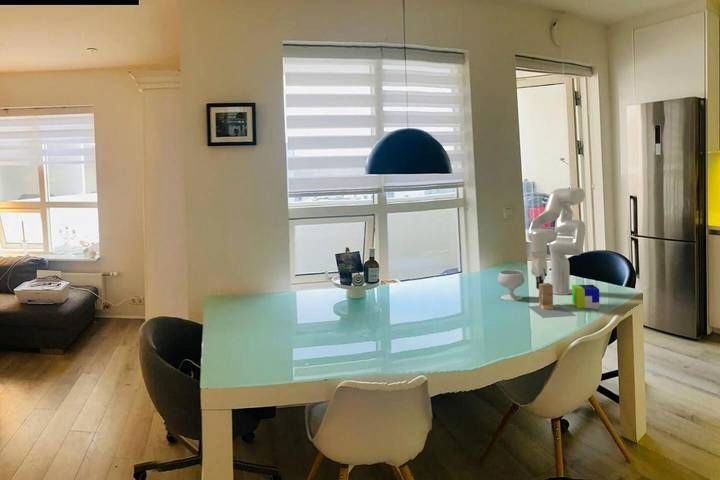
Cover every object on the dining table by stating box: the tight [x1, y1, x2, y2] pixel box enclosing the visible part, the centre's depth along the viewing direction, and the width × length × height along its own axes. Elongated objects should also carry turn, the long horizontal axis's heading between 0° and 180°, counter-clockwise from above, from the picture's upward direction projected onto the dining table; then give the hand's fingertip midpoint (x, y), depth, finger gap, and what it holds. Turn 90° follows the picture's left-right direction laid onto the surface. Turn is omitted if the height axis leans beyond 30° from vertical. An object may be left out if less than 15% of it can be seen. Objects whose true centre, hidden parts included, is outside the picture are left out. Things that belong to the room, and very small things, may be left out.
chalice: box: [497, 269, 525, 301], centre depth 249 cm, size 14×14×15 cm
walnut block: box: [538, 282, 554, 309], centre depth 226 cm, size 5×5×12 cm
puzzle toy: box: [571, 284, 600, 310], centre depth 226 cm, size 10×10×10 cm
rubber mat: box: [527, 304, 577, 319], centre depth 221 cm, size 20×16×1 cm
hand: (540, 288), depth 233 cm, fingers closed
